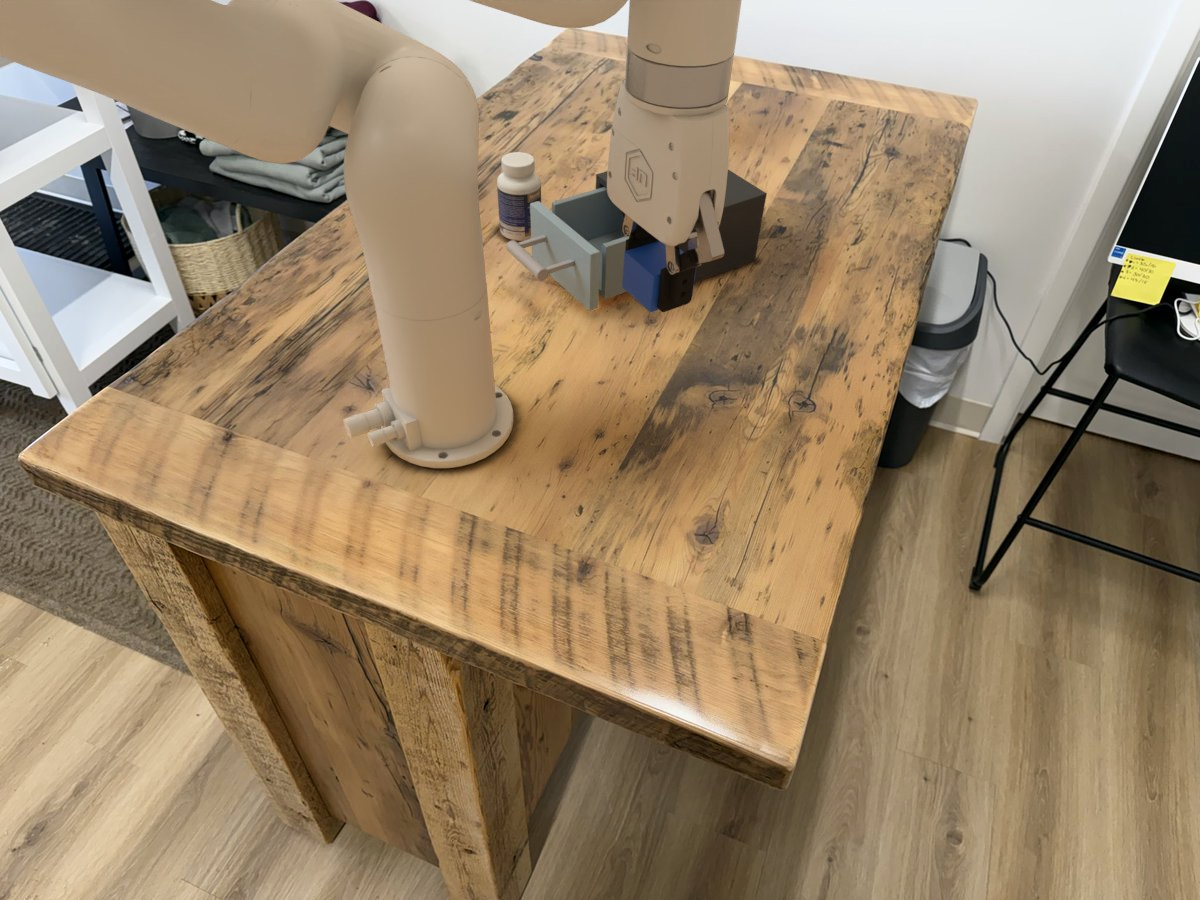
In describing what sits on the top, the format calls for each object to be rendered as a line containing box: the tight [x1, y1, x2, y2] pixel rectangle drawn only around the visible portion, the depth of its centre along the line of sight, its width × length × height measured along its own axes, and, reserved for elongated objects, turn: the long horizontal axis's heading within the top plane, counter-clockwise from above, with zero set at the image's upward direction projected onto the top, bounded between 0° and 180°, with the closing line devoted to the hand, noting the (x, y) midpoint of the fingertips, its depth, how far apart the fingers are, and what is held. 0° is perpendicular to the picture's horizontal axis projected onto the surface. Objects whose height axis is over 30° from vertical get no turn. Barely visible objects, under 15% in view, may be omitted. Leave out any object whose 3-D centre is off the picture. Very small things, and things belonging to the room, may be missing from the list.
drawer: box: [505, 187, 629, 312], centre depth 97 cm, size 18×13×7 cm
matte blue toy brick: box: [622, 241, 696, 313], centre depth 72 cm, size 4×4×4 cm
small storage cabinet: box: [595, 169, 767, 284], centre depth 102 cm, size 15×14×9 cm
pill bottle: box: [496, 151, 542, 242], centre depth 104 cm, size 5×5×10 cm
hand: (656, 289), depth 73 cm, fingers closed on matte blue toy brick, 4 cm apart
